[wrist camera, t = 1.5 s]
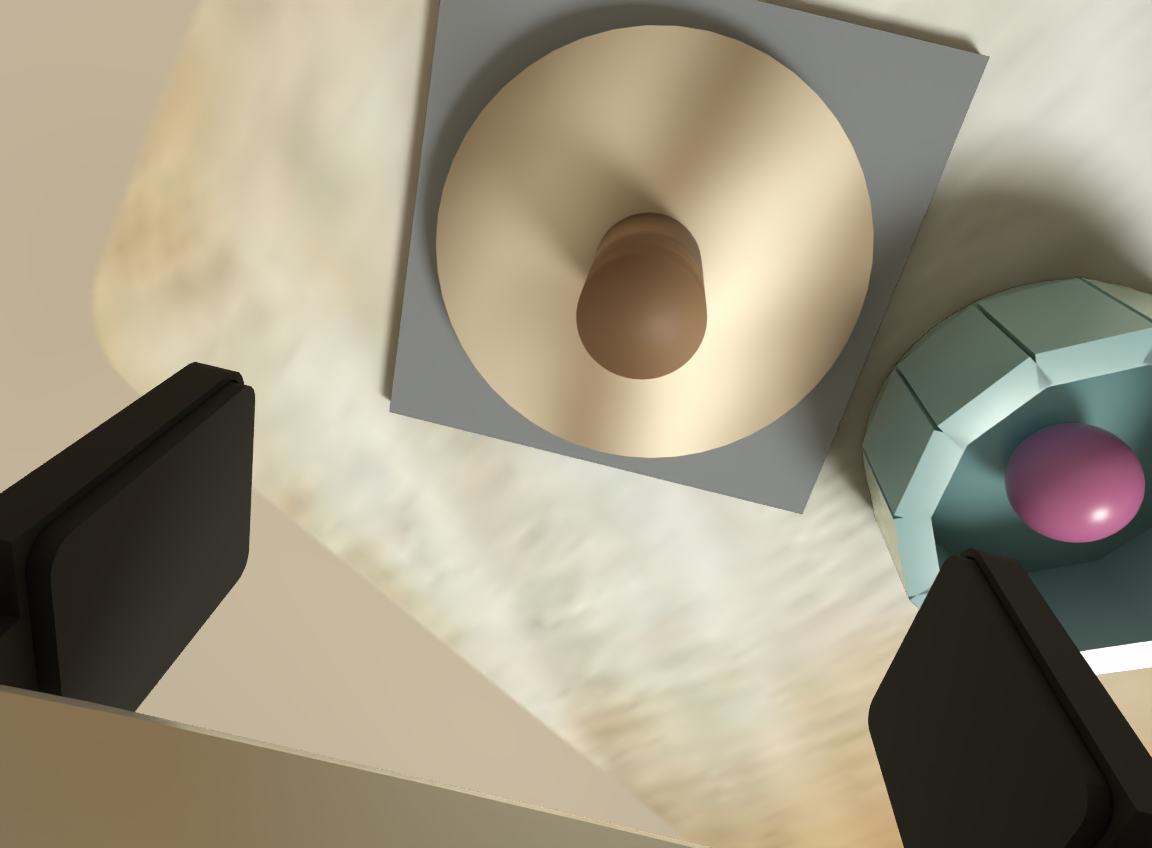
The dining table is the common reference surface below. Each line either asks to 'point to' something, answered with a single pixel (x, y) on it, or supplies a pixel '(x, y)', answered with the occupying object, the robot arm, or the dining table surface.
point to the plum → (1074, 482)
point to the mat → (818, 57)
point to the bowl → (994, 430)
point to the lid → (654, 241)
